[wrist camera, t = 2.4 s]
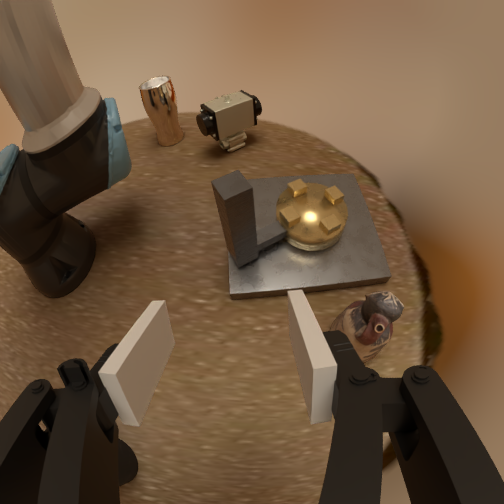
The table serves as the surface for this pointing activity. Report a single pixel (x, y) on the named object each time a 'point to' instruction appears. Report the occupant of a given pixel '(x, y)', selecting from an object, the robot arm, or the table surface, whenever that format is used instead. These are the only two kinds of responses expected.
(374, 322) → the figurine
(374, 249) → the base plate
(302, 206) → the metal fixture
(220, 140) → the pneumatic valve
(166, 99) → the beer glass
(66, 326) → the table surface
